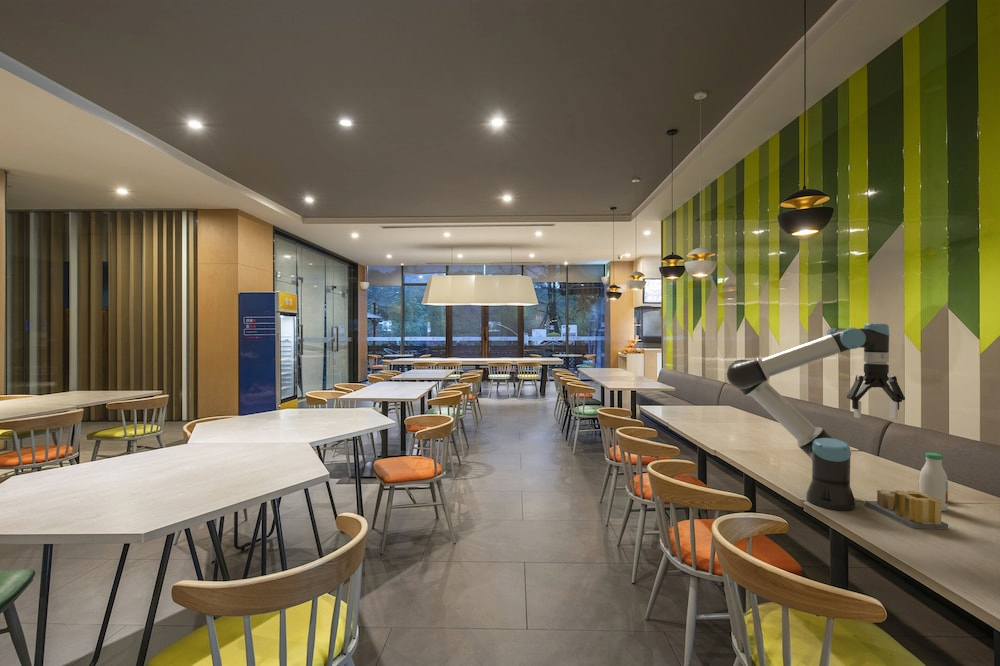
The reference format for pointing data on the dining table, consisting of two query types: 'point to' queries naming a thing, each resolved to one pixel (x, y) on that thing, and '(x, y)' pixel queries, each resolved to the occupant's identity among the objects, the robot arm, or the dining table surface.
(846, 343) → the robot arm
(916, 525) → the gear board
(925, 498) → the gear
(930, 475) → the milk bottle
